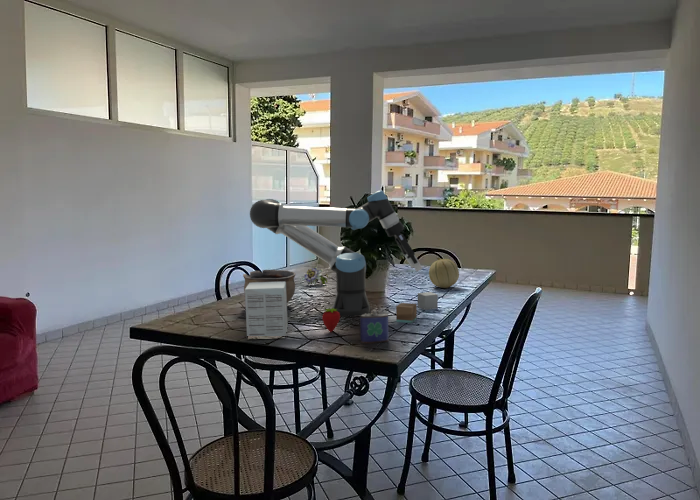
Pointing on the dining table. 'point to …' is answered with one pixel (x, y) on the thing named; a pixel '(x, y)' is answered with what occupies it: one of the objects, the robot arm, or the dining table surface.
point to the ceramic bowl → (273, 279)
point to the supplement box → (266, 309)
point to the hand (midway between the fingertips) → (416, 268)
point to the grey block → (427, 300)
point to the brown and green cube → (406, 313)
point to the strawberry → (331, 318)
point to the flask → (374, 328)
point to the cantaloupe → (443, 273)
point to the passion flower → (314, 276)
